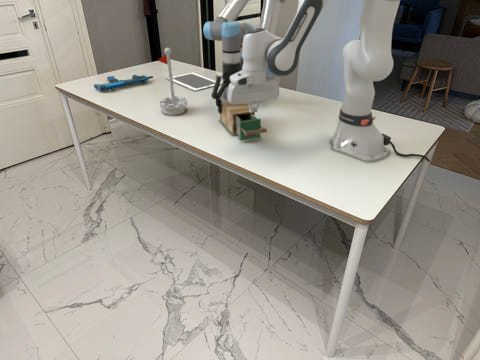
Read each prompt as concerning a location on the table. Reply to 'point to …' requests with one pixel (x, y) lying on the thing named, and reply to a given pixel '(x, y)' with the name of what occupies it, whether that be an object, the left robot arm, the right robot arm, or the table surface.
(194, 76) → the tablet
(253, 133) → the drawer
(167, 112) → the flag stand
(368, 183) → the table surface
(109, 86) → the submachine gun
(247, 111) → the tan storage bin
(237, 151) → the table surface
